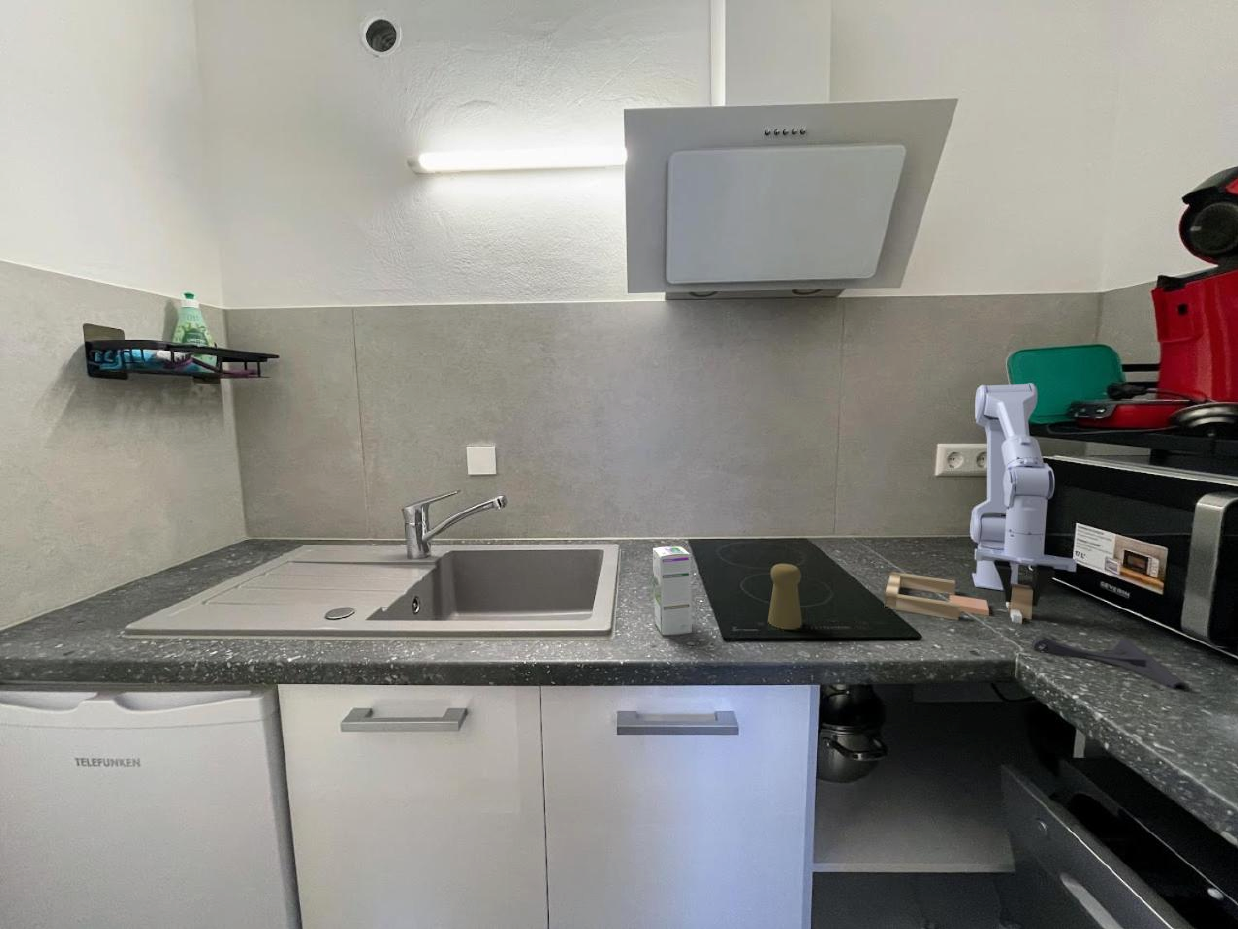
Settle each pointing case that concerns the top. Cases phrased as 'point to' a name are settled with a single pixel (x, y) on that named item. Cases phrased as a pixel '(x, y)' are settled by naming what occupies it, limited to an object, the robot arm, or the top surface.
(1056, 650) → the bracket
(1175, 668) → the top surface
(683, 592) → the syrup box
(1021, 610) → the wood block with post
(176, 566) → the top surface
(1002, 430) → the robot arm
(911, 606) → the tile rest
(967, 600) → the terracotta tile
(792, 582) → the cork
